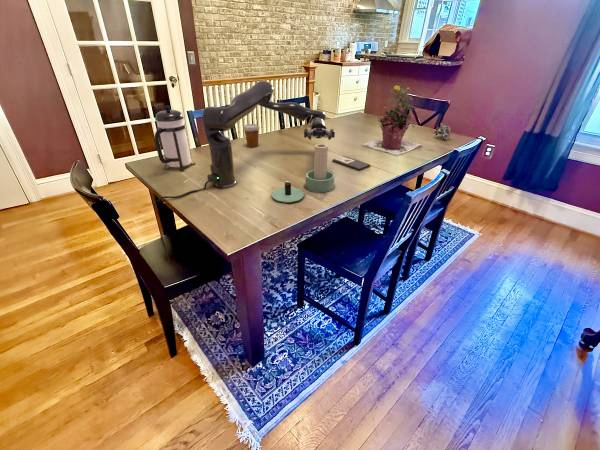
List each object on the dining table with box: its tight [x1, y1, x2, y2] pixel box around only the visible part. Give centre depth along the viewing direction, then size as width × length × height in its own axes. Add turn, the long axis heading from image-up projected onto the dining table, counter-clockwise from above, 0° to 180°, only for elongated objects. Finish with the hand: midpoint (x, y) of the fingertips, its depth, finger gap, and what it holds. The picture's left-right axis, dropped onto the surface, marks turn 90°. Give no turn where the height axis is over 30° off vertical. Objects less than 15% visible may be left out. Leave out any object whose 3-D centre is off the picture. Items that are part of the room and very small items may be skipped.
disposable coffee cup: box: [243, 123, 260, 148], centre depth 184 cm, size 10×10×12 cm
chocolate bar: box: [332, 155, 371, 172], centre depth 161 cm, size 9×1×18 cm
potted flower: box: [362, 82, 422, 157], centre depth 178 cm, size 27×25×35 cm
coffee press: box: [154, 104, 196, 172], centre depth 148 cm, size 17×16×30 cm
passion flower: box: [432, 122, 452, 141], centre depth 199 cm, size 11×11×12 cm
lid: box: [271, 181, 305, 203], centre depth 127 cm, size 14×14×6 cm
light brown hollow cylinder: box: [313, 143, 329, 180], centre depth 132 cm, size 5×5×18 cm
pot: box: [305, 169, 335, 193], centre depth 136 cm, size 13×13×6 cm
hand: (319, 137), depth 136 cm, fingers open, 8 cm apart
